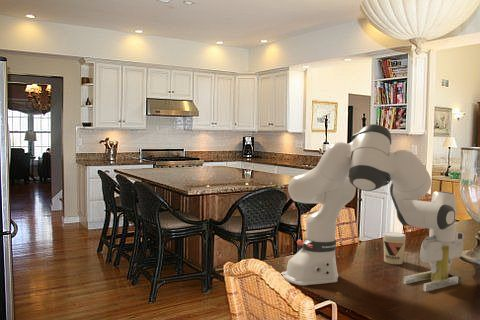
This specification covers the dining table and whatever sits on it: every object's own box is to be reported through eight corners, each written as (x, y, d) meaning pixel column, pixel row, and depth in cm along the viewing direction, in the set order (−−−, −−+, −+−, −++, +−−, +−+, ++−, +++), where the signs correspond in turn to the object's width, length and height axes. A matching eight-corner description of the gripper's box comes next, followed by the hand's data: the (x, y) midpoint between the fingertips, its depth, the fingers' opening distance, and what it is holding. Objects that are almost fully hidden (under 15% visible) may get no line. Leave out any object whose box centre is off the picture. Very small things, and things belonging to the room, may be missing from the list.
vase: (433, 277, 165) (434, 241, 164) (450, 281, 161) (452, 243, 160) (428, 281, 160) (430, 244, 159) (446, 285, 156) (447, 246, 156)
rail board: (425, 291, 150) (426, 284, 149) (403, 283, 158) (403, 276, 158) (460, 283, 159) (460, 276, 159) (437, 275, 167) (438, 269, 167)
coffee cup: (380, 262, 184) (381, 235, 183) (384, 257, 192) (385, 230, 191) (403, 266, 179) (404, 237, 179) (406, 260, 188) (407, 233, 187)
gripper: (431, 239, 152) (429, 277, 152) (466, 234, 162) (465, 270, 162) (416, 235, 157) (414, 272, 158) (451, 230, 167) (450, 265, 168)
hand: (440, 271), depth 160 cm, fingers closed on vase, 5 cm apart
